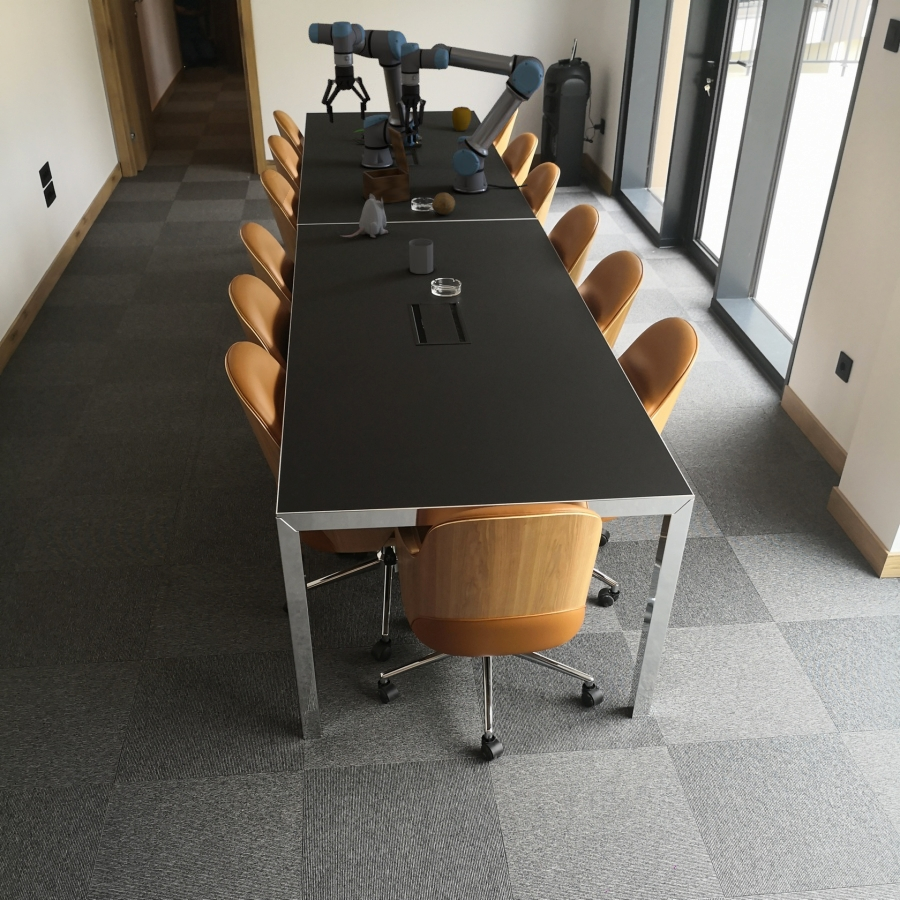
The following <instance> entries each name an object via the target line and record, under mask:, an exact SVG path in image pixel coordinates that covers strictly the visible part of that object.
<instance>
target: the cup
mask: <svg viewBox="0 0 900 900" xmlns="http://www.w3.org/2000/svg"><path fill="white" fill-rule="evenodd" d="M408 253H409V272H411V273H412V274H416V275H426V274H430V273H432V272H434V241H433V240H431V239H428V238H422V237H421V238H420V237H419V238H414V239H411V240H410V241H409V242H408Z"/></svg>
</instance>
